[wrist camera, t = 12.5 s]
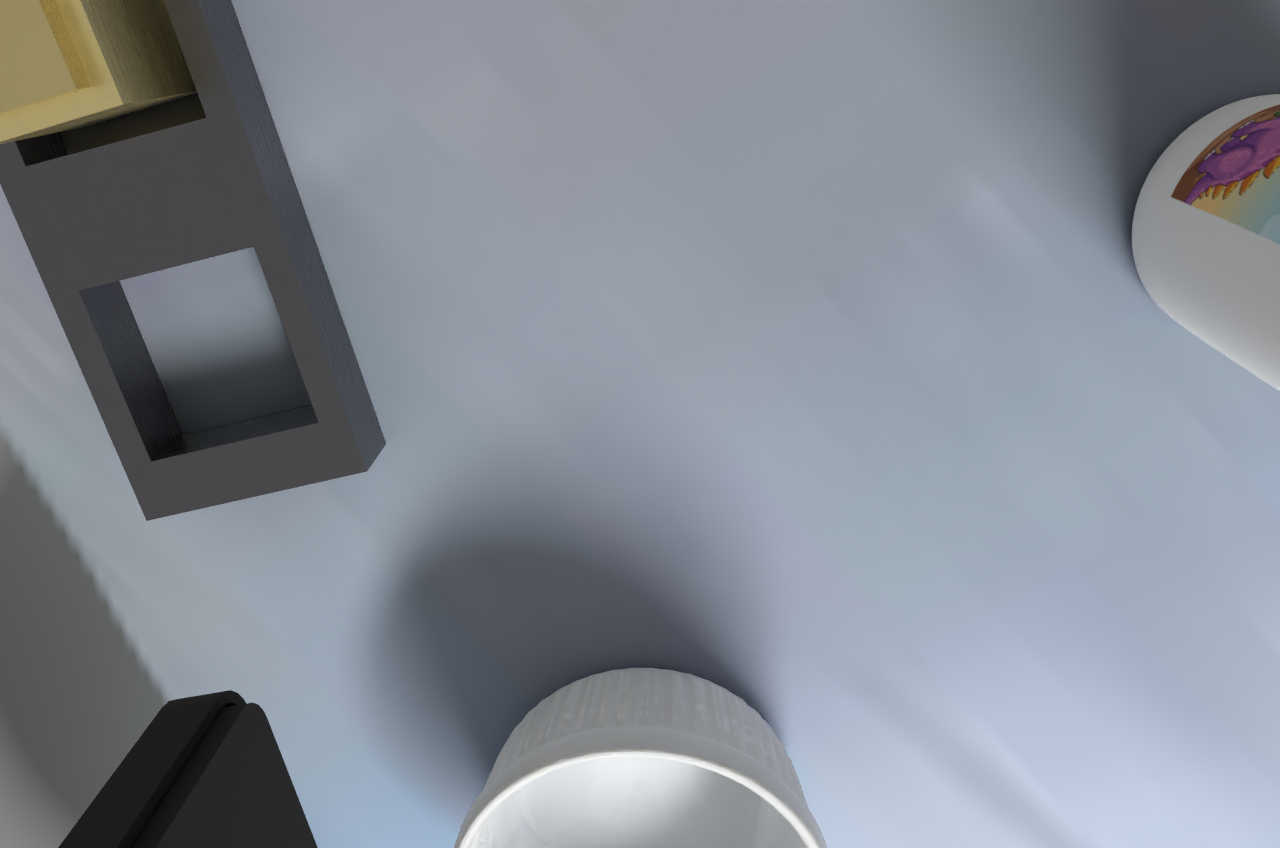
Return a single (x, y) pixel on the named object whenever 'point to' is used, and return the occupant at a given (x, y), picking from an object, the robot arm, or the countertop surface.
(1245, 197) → the milk bottle
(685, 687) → the ramekin
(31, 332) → the countertop surface
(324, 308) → the grey board with holes
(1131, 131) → the countertop surface
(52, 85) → the yellow rectangular block
